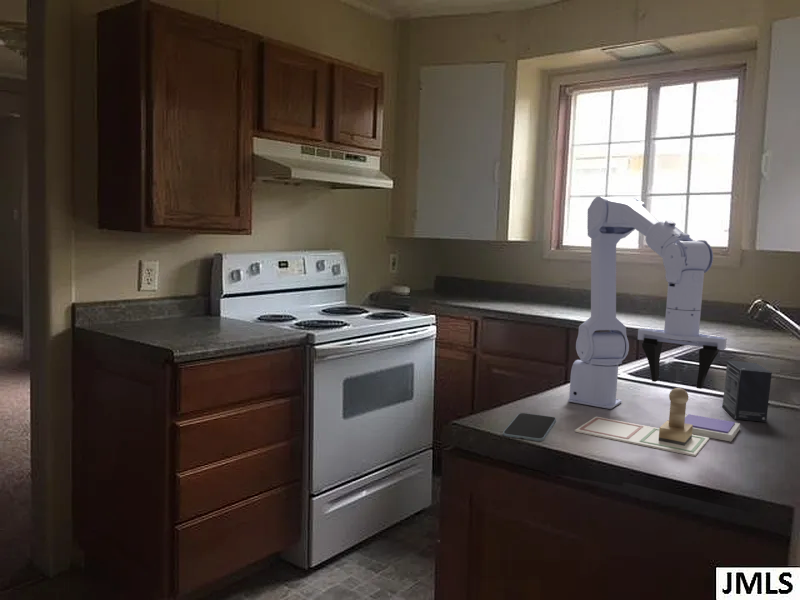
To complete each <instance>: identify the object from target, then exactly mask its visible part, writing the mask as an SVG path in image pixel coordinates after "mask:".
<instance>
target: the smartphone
mask: <svg viewBox="0 0 800 600" xmlns="http://www.w3.org/2000/svg"><path fill="white" fill-rule="evenodd" d="M556 422H557V418H556V417H554V416H549V415H543V414H534V413H527V412H520V413H518V414H517V415H516V416H515V418H514V419H513V420H512V421H510V423H509V424H508V426H507V427H505V429H504V430H503V432H502V435H503V437H509V438H515V439H523V440H528V441H534V442H535V441H536V442H543V441H544V440H545V438H546V437H547V436H548V435H549V432H550V431H551V430H552V428H553V427H554V425H555V424H556Z"/></svg>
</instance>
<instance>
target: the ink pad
mask: <svg viewBox="0 0 800 600" xmlns="http://www.w3.org/2000/svg"><path fill="white" fill-rule="evenodd" d="M685 423H686V424H691V425H693V429H692V435H697V436H703V437H708V438H709V439H710V438H711V439H716V440H721V441H726V442H730V443H731V442H732V441H733V440H734V438H736V436H737V434H738V432H739V431H740V427H741V423H740V422H739V423H738V422H735V421H731V420H723V419H719V418H713V417H707V416H701V415H695V414H691V413H688V414H686V413H685Z"/></svg>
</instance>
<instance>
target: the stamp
mask: <svg viewBox="0 0 800 600" xmlns="http://www.w3.org/2000/svg"><path fill="white" fill-rule="evenodd" d="M668 398H669V401H670V402H669V403H670V405H669V414H668V415H669V417H668V420H666V421H665V422H664V423H663V424H661V425H660V426H659V427H658V428H659V441H663V442H668V443H673V444H678V445H683V446H685V445H686V444H687V442H688V441H689V440H690V439H691V438H692V435H693V434H692V429H693V425H691V424H686V423H685V414H686V410H687V408H686V407H687V403H688V401H689V393H688V391H687V390H686V389H683V388H682V387H675V388H673V389H671V391H670V392H669V394H668Z"/></svg>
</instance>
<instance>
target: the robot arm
mask: <svg viewBox="0 0 800 600" xmlns="http://www.w3.org/2000/svg"><path fill="white" fill-rule="evenodd" d="M586 222H587V224H586V225H587V237H589V238H590V254H591V255H590V317H589V318H588V319H586V320H585V321H584V322H582V323H581V324H580V325H579V326H578V334H577V338H576V342H575V350H576V353H577V356H578V357H579V359H575V360H574V362H573V363H572V366H571V370H570V377H569V378H570V379H569V381H570V382H569V396H568V399H567V402H570V403H575V404H580V405H585V406H592V407H595V408H596V407H597V408H601V409H602V408H603V409H607V410H611V409H613V408H614V407H617V406H618V405H619V404H621V403H622V402H623V401H622V399H619V398H617V390H618V376H619V375H618V374H619V365H622V364H623V361H624V360H626V357H627V356H628V354H629V351H630V342H629V340H628V339H629V338H628V337H627V336H628V335H627V326H626V325H625V324H624V323H622V322H621V321H620V320H619V319H618V318H617V244H618V243H619V242H620V241H621V240H622V239H625V238H626V237H628V236H629V235H630V234H631V233H632V232H634V231H635V230H636V231H637V232H639V233H640V234H642V235H643V236H645V243H646V245H647V246H648V247H649V248H650V250H652V251H653V252H654V253H656V254H657V255H658V256H659V257H660V258H661V259H662V265H663V268H664V271H665V276H664V277H665V282H667V293H666V294H667V295H666V306H665V316H664V317H665V319H664V329H655V328H645V327H644V328H643V327H640V328H638V329H637V341H638V340H639V341H643V342H642V343H641V347H642V350H643V352H644V354H645V356H646V357H645V358H646V359H647V362H648V366H649V370H650V376H651V382H655V383H656V382H657V381H659V378H660V360H661V353H662V347H663V343H668V344H677V345H686V346H694V347H701V348H700V349H699V350H698V372H697V373H698V374H697V380H696V388H697V389H700V390H702V389H703V388H704V386H705V381H706V377H707V375H708V373H709V370H710V368H711V366H712V364H713V362H714V360H715V359H716V357H717V356H718V354H719V352H720V350H721V351H725V350H726V348H727V339H728V338H727V337H723V336H715V335H710V334H703V333H700V325H701V313H702V301H703V291H704V290H703V289H704V280H705V279H704V278H705V273H707V272H709V271H710V269H711V268H712V265H713V262H714V251H713V249H712V246H711V245H710V244H709V243H708V241H707V240H693V239H692V238H691V237H690V234H689V233H687V232H684V231H681V230H680V229H679V227H676V223H675V222H674V221H672V220H661V221H659V220H657V218H655V216H653V214H651V213H650V211H648V209H646V203H645V202H643V201H641V199H639V198H637V197H633V198H623V197H621V198H620V197H605V196H604V197H603V196H600V195H599V196H596V197H595V198H593V200H592V201H591V203H590V205H589V206H588V208H587V221H586Z"/></svg>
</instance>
